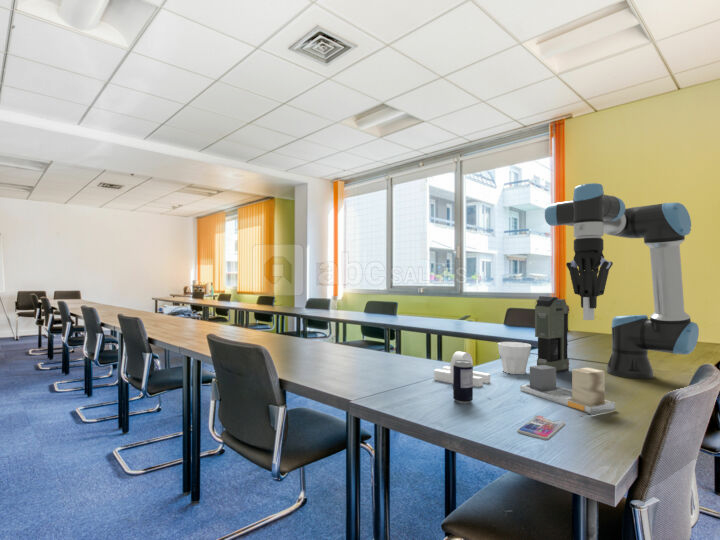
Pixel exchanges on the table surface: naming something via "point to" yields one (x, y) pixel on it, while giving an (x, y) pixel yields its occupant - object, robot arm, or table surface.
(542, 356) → the device
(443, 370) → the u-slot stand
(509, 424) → the table surface
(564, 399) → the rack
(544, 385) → the blank block
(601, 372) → the panel block
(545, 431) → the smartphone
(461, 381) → the beverage can
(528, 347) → the cup
